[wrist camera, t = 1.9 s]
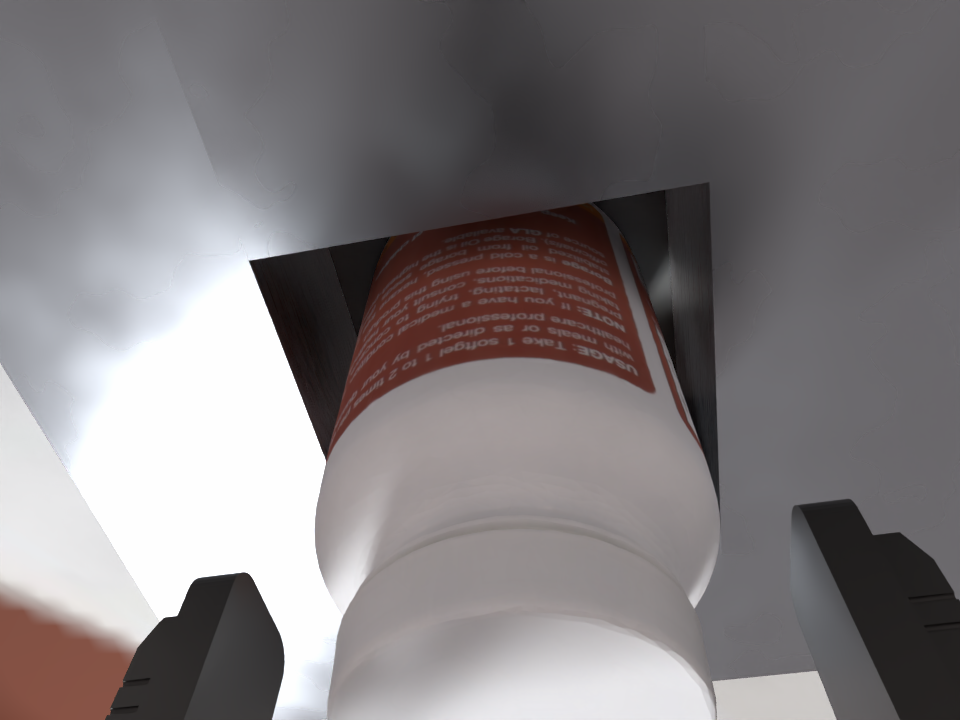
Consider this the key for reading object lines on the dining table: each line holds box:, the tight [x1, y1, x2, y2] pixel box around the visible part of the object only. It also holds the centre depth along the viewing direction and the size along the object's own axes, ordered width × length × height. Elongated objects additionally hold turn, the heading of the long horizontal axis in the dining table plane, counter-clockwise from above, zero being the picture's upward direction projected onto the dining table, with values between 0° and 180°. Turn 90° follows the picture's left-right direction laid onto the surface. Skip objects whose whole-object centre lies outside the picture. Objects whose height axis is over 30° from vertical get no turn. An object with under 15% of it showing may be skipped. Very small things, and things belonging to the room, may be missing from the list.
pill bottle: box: [314, 202, 720, 720], centre depth 14 cm, size 6×6×11 cm
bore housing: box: [0, 0, 960, 720], centre depth 17 cm, size 18×18×4 cm
